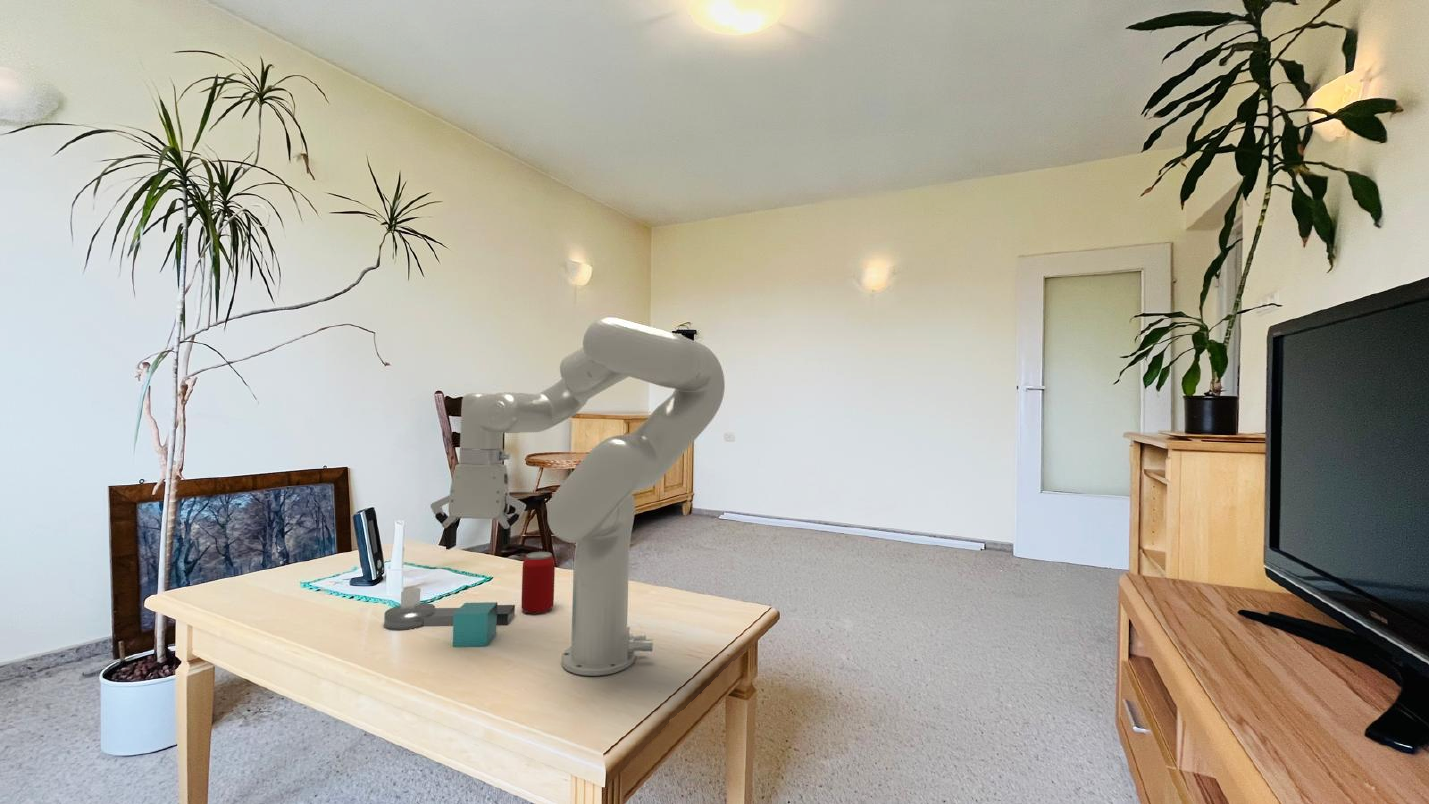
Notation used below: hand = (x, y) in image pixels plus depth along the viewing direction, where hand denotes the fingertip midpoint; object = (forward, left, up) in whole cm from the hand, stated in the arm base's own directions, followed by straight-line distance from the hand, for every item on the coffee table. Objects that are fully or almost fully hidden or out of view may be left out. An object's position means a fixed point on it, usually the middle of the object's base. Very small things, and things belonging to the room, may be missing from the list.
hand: (477, 548), depth 104 cm
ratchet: (+9, -9, -17) cm, 21 cm away
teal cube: (0, +1, -17) cm, 17 cm away
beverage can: (-8, -15, -17) cm, 25 cm away
